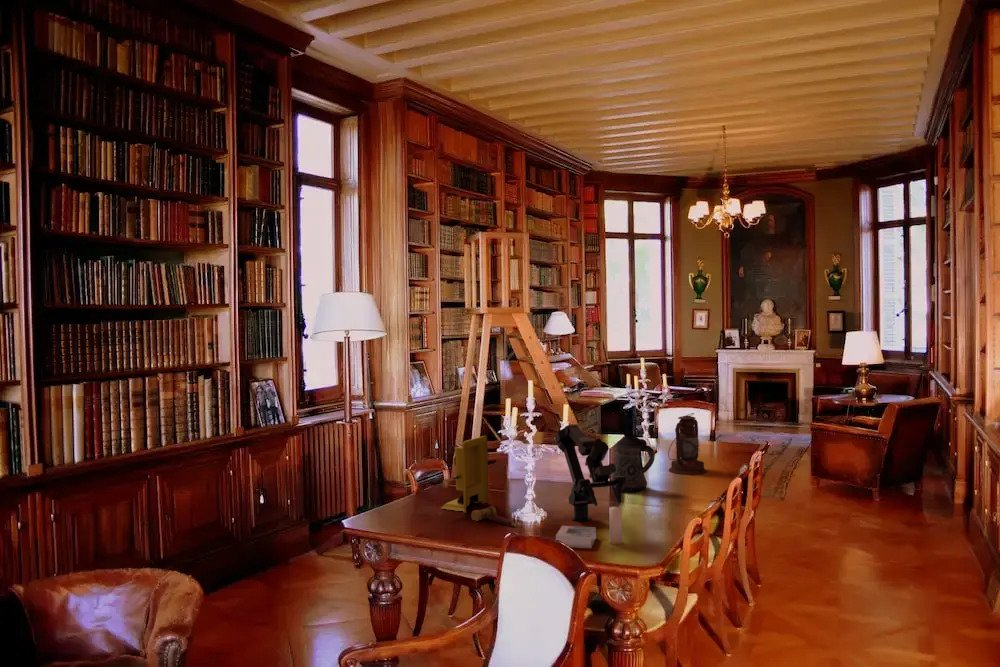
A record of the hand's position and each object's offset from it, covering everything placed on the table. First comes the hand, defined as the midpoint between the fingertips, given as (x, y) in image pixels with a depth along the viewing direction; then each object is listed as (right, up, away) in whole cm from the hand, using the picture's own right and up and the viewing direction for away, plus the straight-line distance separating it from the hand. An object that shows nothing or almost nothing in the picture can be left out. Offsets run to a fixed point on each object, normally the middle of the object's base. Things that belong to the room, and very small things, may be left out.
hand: (608, 504), depth 284 cm
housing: (-12, -13, -4) cm, 18 cm away
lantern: (+56, -8, +113) cm, 127 cm away
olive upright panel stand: (-54, -12, +52) cm, 76 cm away
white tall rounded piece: (+2, -12, -6) cm, 14 cm away
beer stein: (+22, -10, +77) cm, 81 cm away
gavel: (-40, -13, +25) cm, 49 cm away
